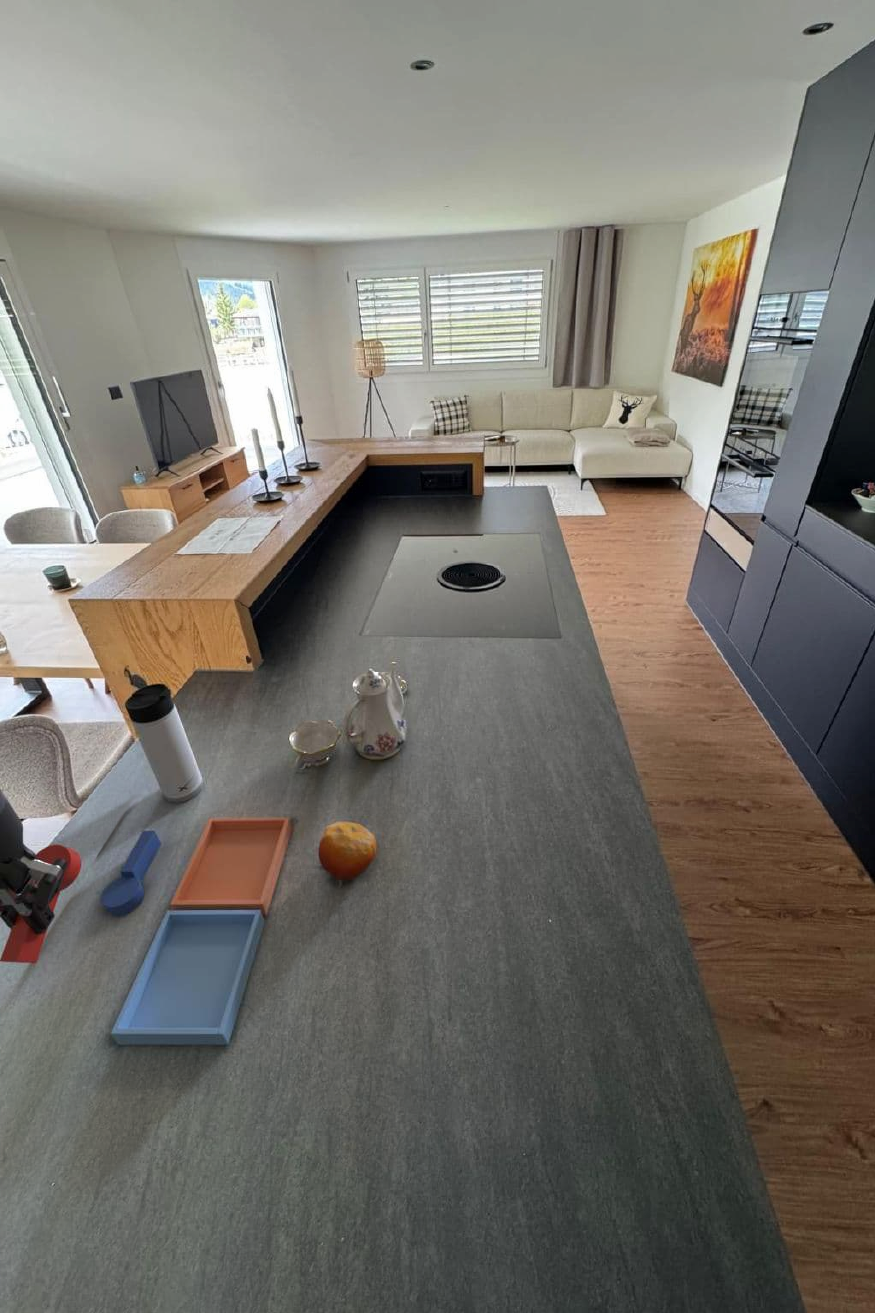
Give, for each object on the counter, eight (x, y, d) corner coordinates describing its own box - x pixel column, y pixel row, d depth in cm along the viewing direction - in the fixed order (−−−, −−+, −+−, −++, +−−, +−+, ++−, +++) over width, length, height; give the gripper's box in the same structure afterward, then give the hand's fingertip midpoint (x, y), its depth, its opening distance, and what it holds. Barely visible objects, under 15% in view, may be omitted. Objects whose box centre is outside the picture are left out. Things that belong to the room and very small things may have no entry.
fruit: (297, 869, 77) (314, 817, 75) (339, 856, 83) (355, 809, 82) (333, 904, 72) (352, 850, 71) (375, 888, 78) (393, 838, 77)
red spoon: (50, 963, 58) (31, 961, 55) (5, 962, 58) (-16, 961, 56) (87, 848, 64) (71, 842, 61) (47, 848, 64) (29, 842, 62)
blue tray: (118, 1044, 60) (109, 1034, 59) (172, 921, 72) (166, 910, 71) (228, 1045, 60) (222, 1034, 59) (265, 921, 72) (260, 909, 71)
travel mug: (197, 803, 90) (159, 705, 79) (157, 803, 90) (113, 706, 79) (211, 775, 95) (177, 679, 84) (173, 775, 95) (134, 680, 84)
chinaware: (377, 692, 116) (361, 621, 107) (446, 708, 107) (435, 632, 99) (283, 779, 96) (255, 699, 87) (359, 807, 87) (336, 722, 79)
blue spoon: (139, 844, 83) (133, 830, 81) (171, 843, 83) (165, 830, 81) (98, 916, 73) (90, 902, 72) (134, 916, 73) (126, 902, 72)
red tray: (175, 916, 73) (169, 904, 72) (213, 829, 85) (209, 818, 84) (266, 915, 73) (262, 904, 71) (292, 828, 84) (289, 817, 83)
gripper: (53, 784, 53) (116, 894, 62) (-86, 784, 53) (-3, 894, 63) (-1, 850, 46) (78, 962, 56) (-158, 850, 47) (-54, 961, 56)
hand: (35, 925), depth 59 cm, fingers closed on red spoon, 1 cm apart
